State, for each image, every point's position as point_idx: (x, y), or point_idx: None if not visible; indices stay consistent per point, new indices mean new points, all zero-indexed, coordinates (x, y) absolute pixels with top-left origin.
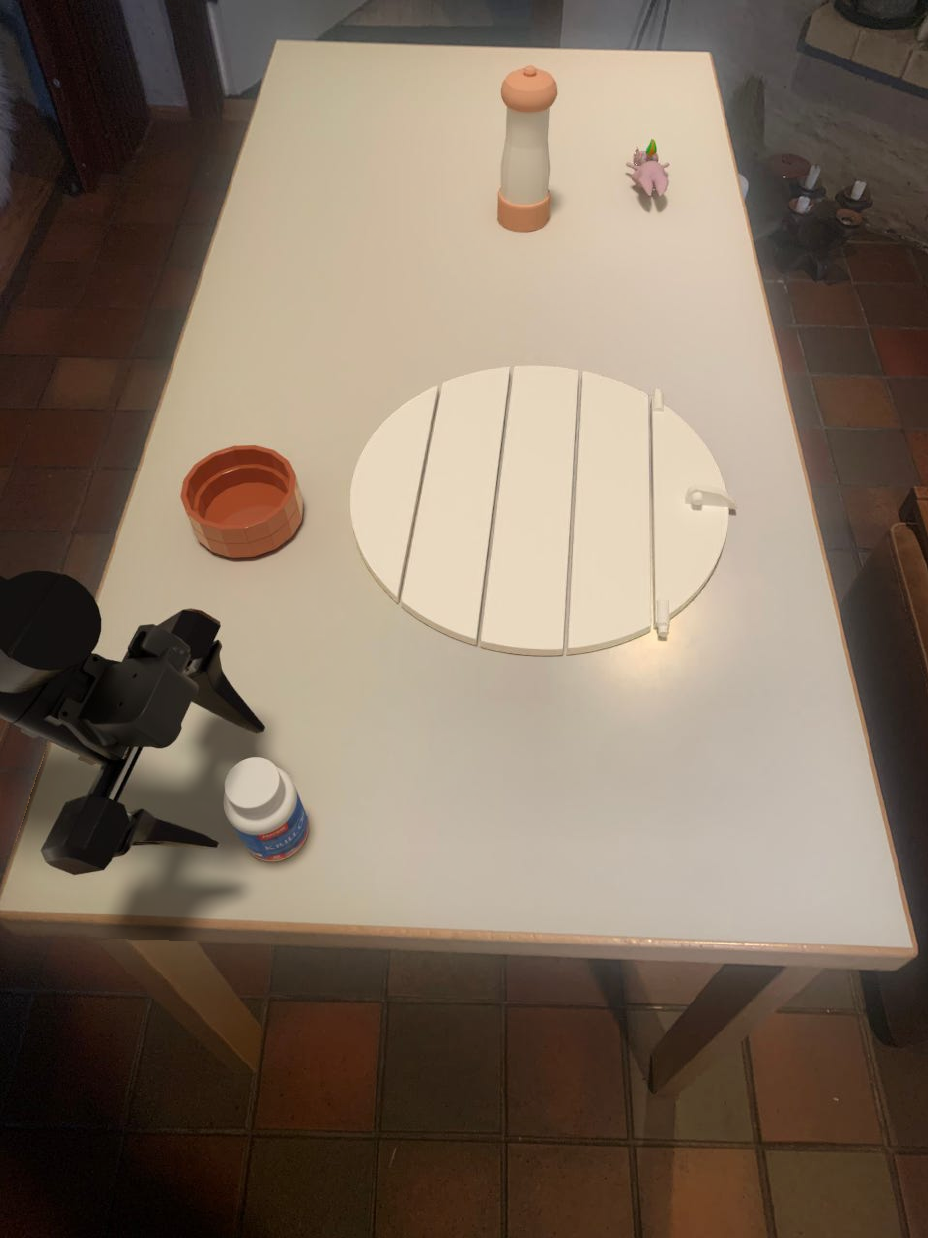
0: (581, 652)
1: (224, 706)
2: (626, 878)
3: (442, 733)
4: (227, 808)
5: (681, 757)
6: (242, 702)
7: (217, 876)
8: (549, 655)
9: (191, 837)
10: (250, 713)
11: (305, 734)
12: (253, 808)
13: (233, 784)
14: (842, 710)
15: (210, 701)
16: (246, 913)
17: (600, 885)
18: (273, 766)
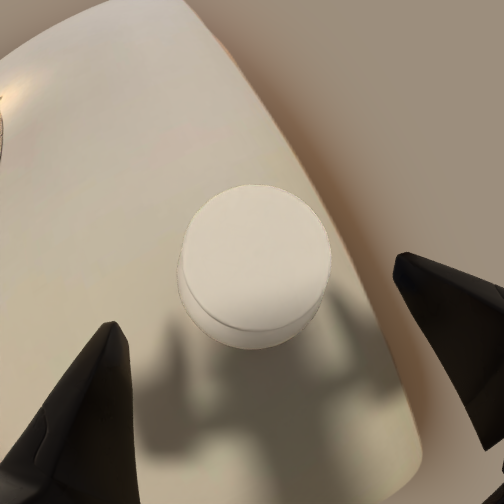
0: (1, 126)
1: (93, 437)
2: (165, 33)
3: (67, 178)
4: (309, 312)
5: (77, 48)
6: (58, 389)
7: (330, 327)
8: (1, 143)
9: (458, 276)
10: (81, 360)
11: None
12: (314, 213)
13: (288, 295)
14: (52, 27)
15: (106, 481)
16: (347, 268)
17: (175, 39)
18: (192, 226)
